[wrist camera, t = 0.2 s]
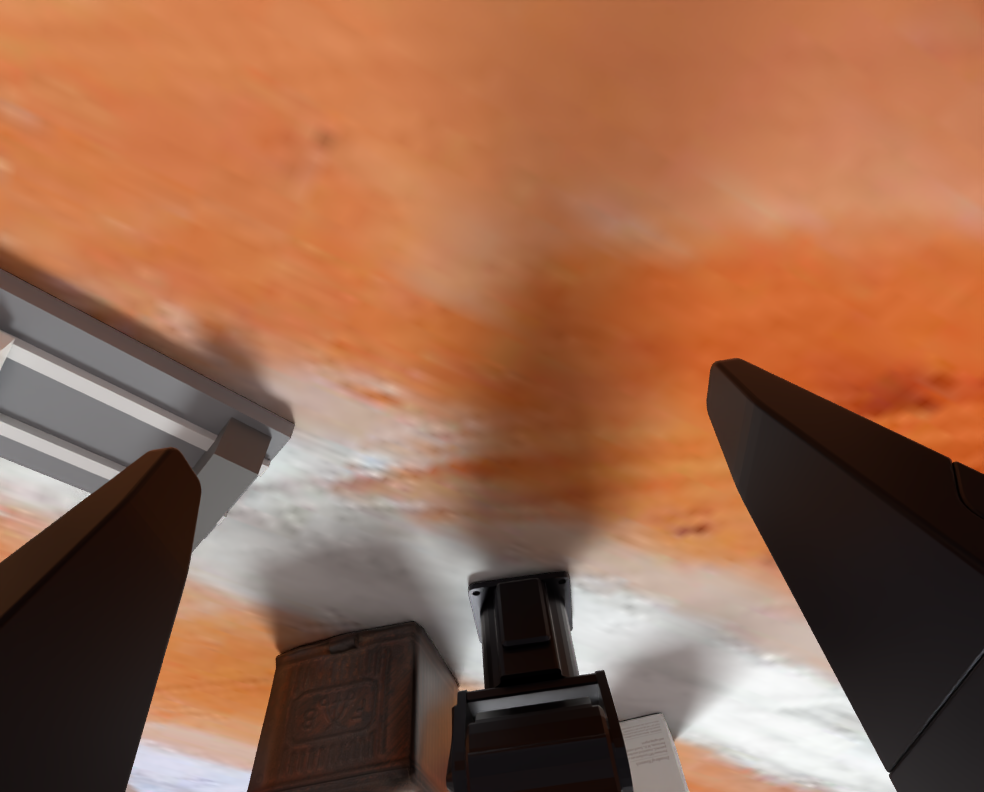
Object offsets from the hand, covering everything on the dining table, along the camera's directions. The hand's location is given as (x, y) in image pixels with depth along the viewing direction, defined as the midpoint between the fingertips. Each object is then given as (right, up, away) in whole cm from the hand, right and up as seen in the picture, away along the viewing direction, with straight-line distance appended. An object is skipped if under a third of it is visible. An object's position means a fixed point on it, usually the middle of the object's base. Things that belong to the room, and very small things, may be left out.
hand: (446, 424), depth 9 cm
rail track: (-19, +1, +16) cm, 25 cm away
